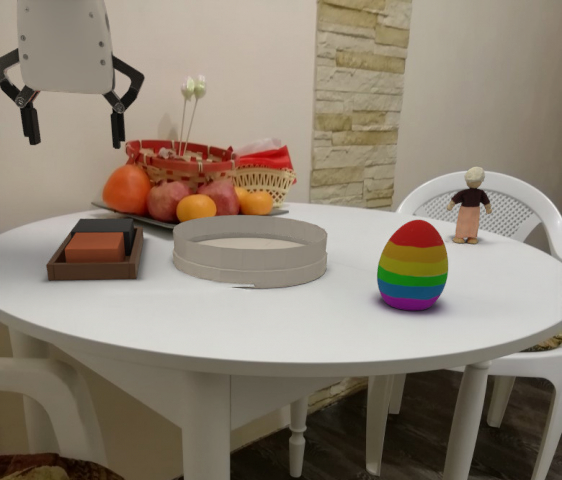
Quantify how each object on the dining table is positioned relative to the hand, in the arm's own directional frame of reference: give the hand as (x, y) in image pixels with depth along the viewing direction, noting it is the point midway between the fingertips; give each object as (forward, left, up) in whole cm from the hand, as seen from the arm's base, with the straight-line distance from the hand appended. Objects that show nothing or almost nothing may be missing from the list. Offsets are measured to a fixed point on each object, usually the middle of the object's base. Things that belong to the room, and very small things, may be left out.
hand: (76, 146), depth 67 cm
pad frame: (+1, +4, -16) cm, 16 cm away
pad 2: (+1, -1, -15) cm, 15 cm away
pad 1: (+1, +9, -15) cm, 18 cm away
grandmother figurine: (+62, +14, -16) cm, 66 cm away
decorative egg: (+39, -17, -16) cm, 45 cm away
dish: (+22, +1, -16) cm, 27 cm away
